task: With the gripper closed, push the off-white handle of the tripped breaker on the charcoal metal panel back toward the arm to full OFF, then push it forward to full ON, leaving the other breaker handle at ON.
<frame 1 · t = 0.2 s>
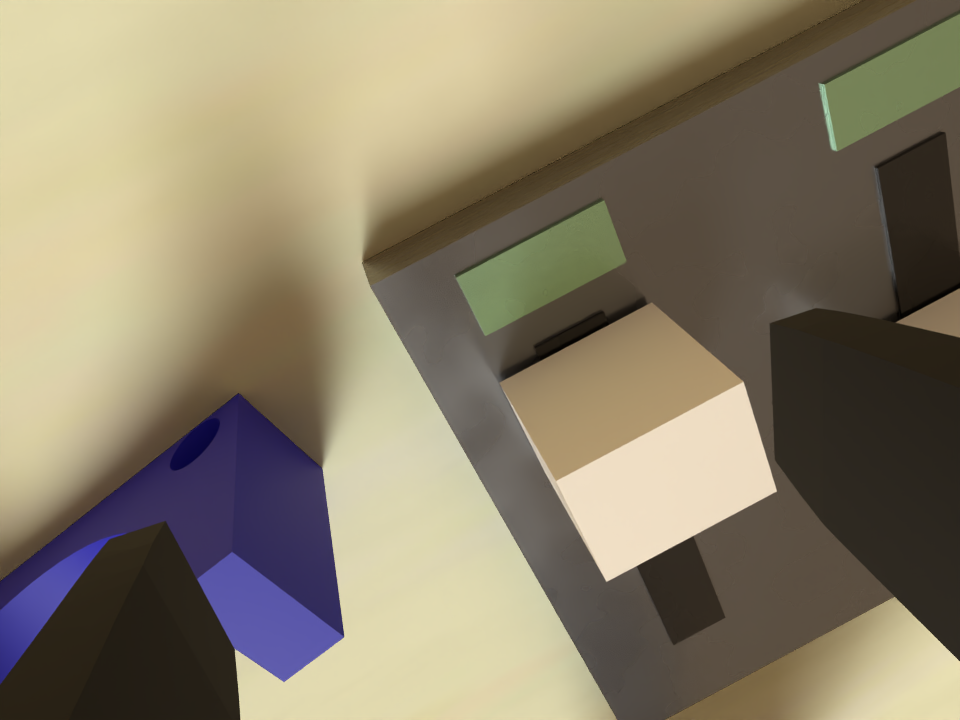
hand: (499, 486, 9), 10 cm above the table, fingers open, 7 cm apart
on breaker: (630, 434, 17), point 4 cm above the table, slide at 4.0 cm
breaker panel: (805, 370, 23), on the table
cable clip: (124, 580, 21), on the table
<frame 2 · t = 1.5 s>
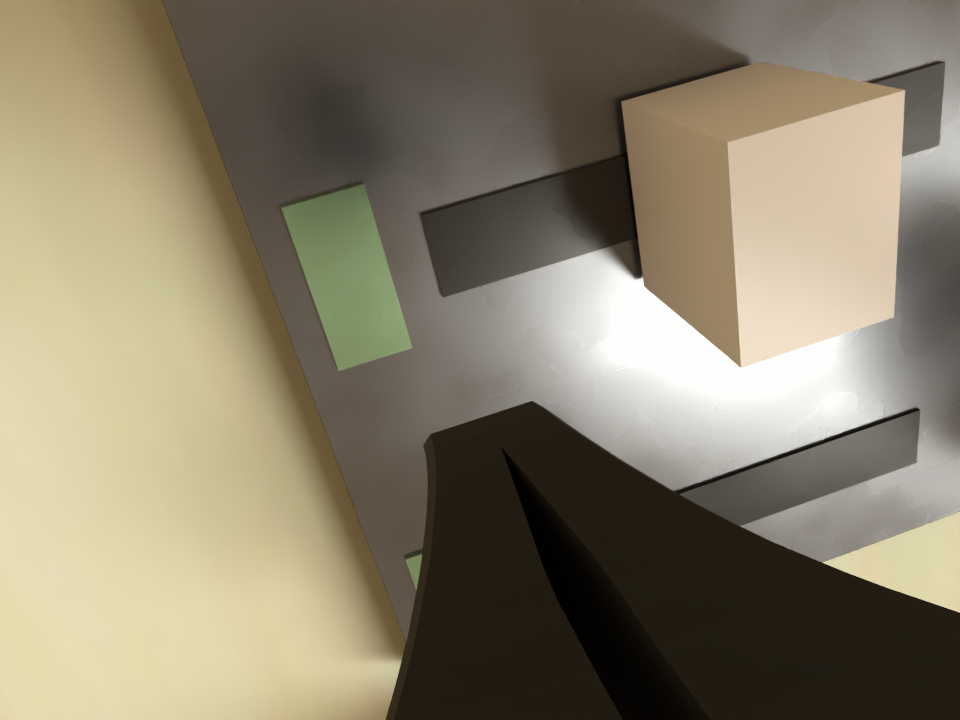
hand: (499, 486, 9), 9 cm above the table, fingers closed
tripped breaker: (752, 205, 15), point 4 cm above the table, slide at 0.0 cm
breaker panel: (675, 280, 19), on the table
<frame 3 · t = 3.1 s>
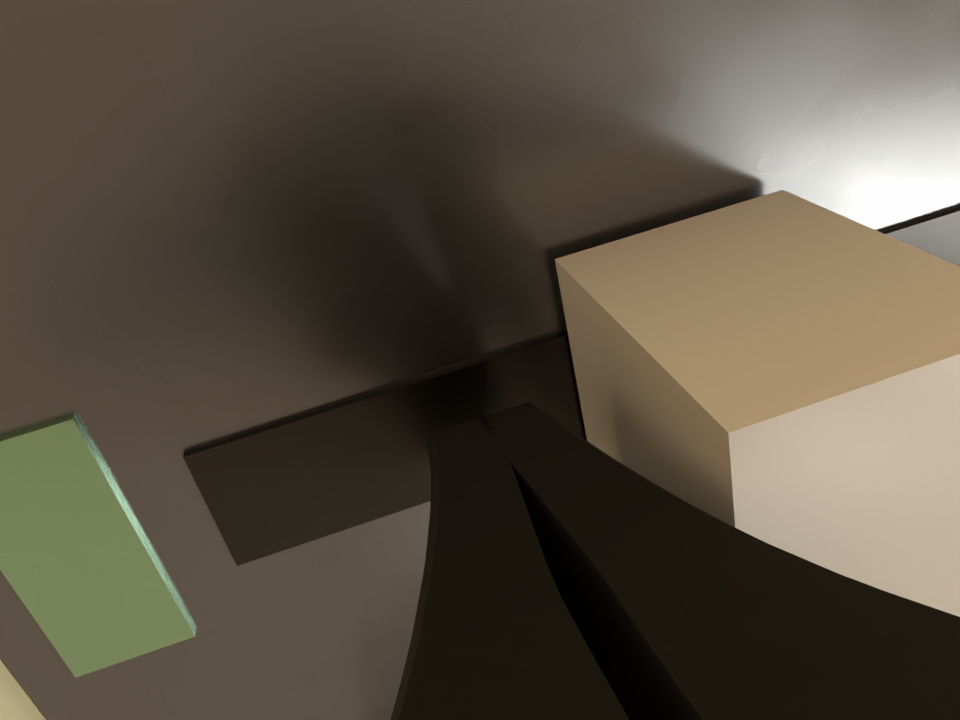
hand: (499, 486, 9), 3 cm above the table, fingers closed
tripped breaker: (768, 442, 9), point 4 cm above the table, slide at -0.6 cm, touching gripper
breaker panel: (619, 480, 13), on the table
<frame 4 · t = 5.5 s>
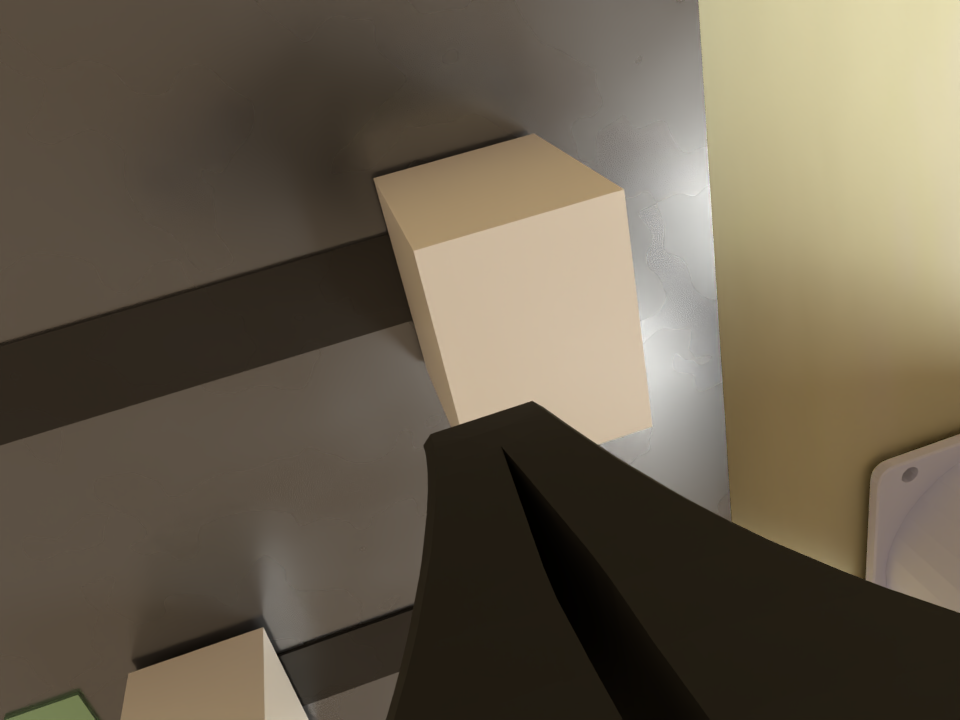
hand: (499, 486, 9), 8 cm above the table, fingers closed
tripped breaker: (506, 297, 13), point 4 cm above the table, slide at -4.1 cm
breaker panel: (312, 408, 18), on the table
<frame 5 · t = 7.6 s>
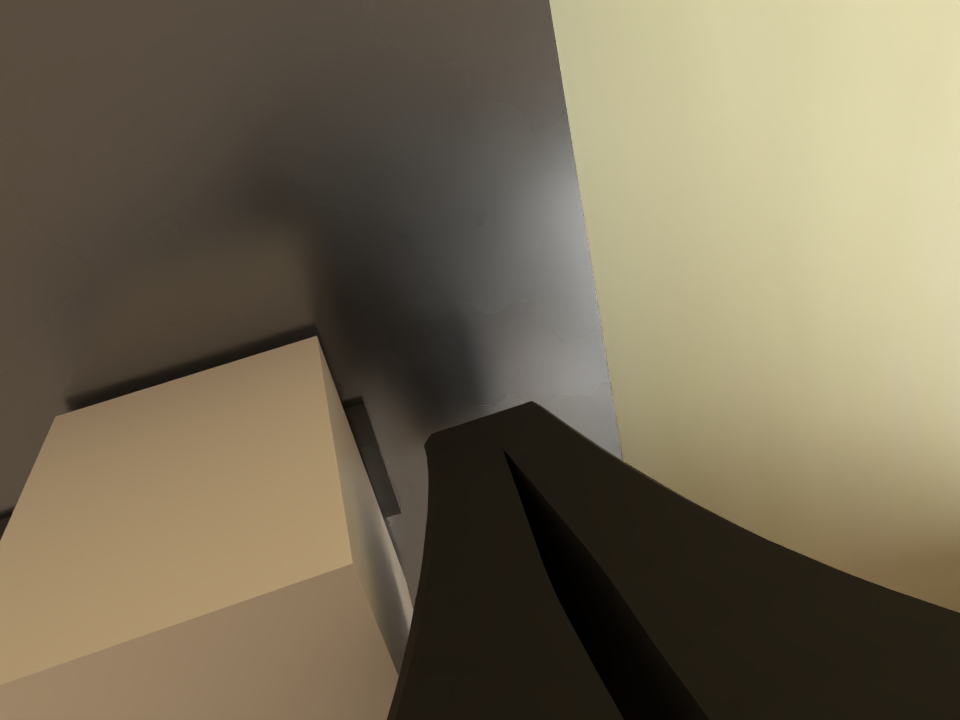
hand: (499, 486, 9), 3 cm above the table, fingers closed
tripped breaker: (249, 624, 8), point 4 cm above the table, slide at -4.0 cm, touching gripper
breaker panel: (66, 672, 12), on the table
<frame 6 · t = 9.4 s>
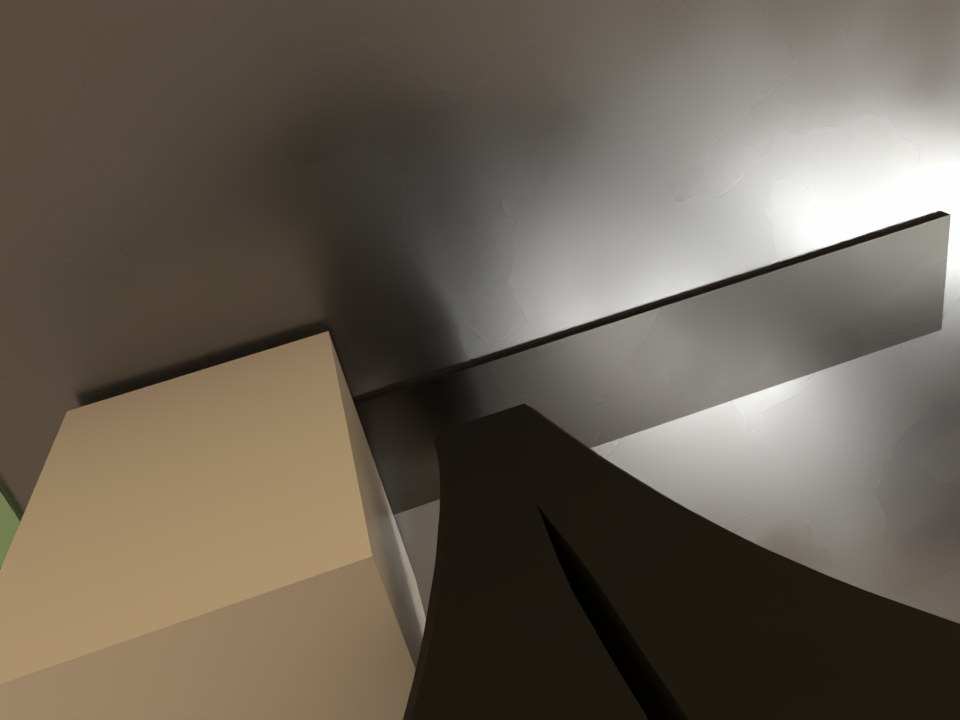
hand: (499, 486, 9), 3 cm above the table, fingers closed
tripped breaker: (262, 619, 8), point 4 cm above the table, slide at 4.1 cm, touching gripper
breaker panel: (558, 502, 13), on the table
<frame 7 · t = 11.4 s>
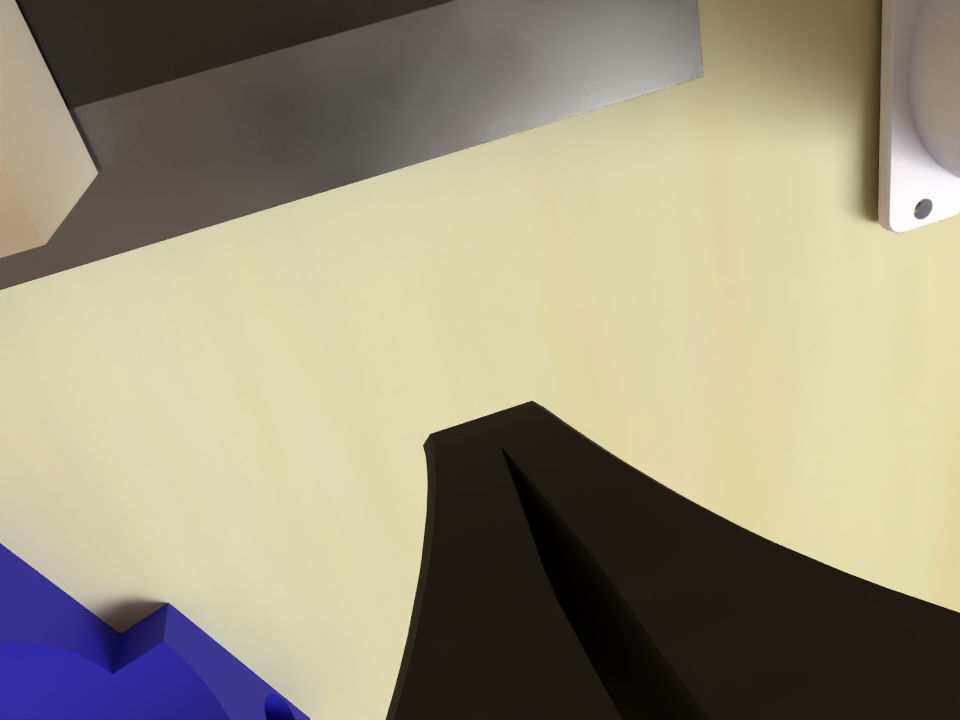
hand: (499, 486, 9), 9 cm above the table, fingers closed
cable clip: (99, 638, 21), on the table
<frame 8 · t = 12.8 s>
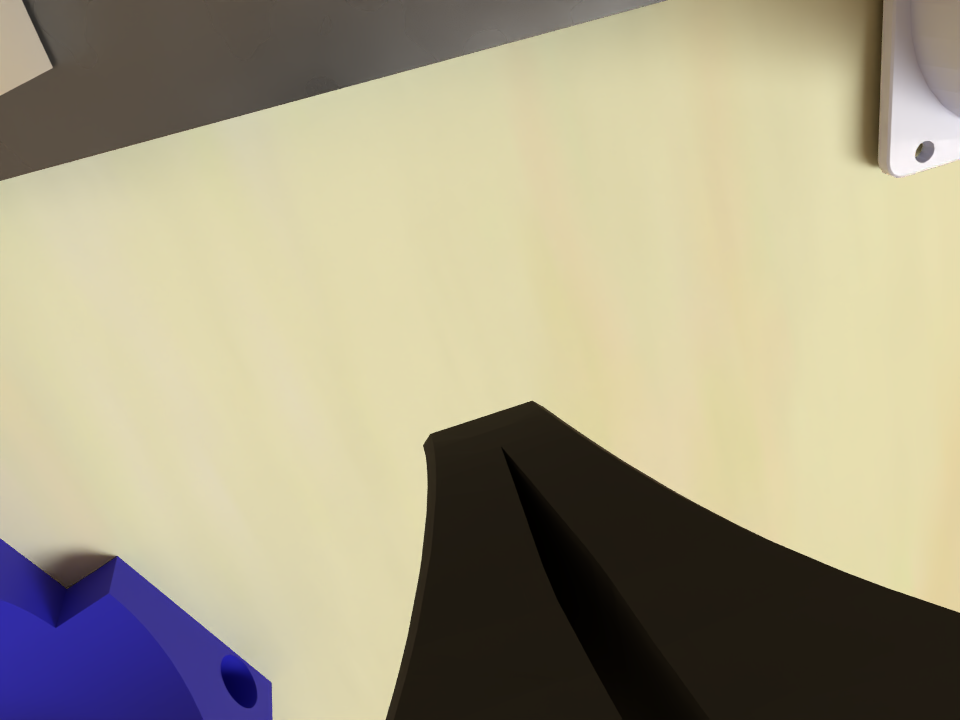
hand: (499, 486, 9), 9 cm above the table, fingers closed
cable clip: (45, 594, 20), on the table
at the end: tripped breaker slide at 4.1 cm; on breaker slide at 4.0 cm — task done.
